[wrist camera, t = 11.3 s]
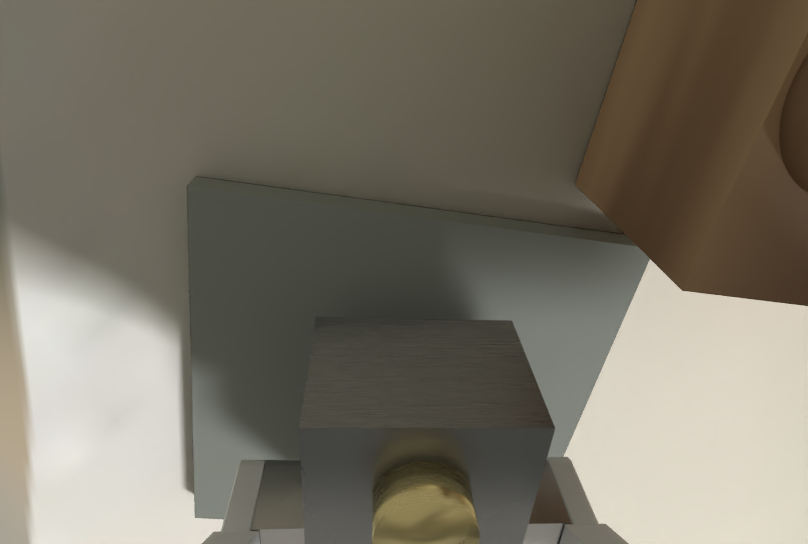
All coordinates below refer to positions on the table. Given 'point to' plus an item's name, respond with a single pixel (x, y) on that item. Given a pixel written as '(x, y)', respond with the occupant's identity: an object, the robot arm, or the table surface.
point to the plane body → (710, 145)
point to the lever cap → (420, 433)
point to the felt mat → (375, 304)
